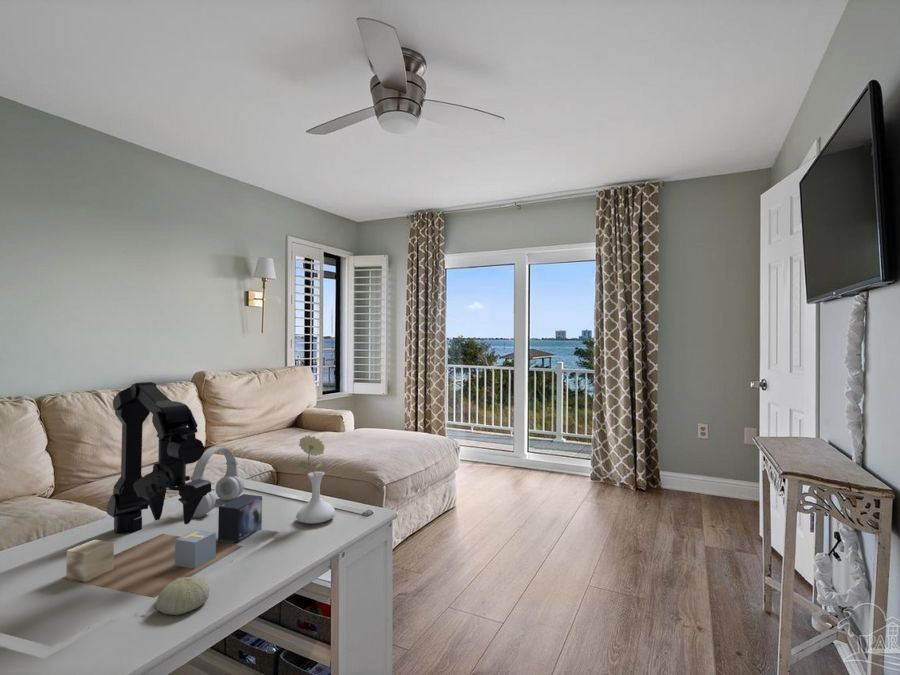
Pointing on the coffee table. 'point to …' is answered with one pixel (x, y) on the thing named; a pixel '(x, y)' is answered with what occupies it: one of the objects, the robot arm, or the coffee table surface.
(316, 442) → the flower in vase
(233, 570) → the coffee table surface
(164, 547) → the walnut board
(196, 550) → the slate cube
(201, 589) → the sea urchin shell
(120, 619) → the coffee table surface
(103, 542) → the birch cube
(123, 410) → the robot arm
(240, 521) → the small box
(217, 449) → the headphones
